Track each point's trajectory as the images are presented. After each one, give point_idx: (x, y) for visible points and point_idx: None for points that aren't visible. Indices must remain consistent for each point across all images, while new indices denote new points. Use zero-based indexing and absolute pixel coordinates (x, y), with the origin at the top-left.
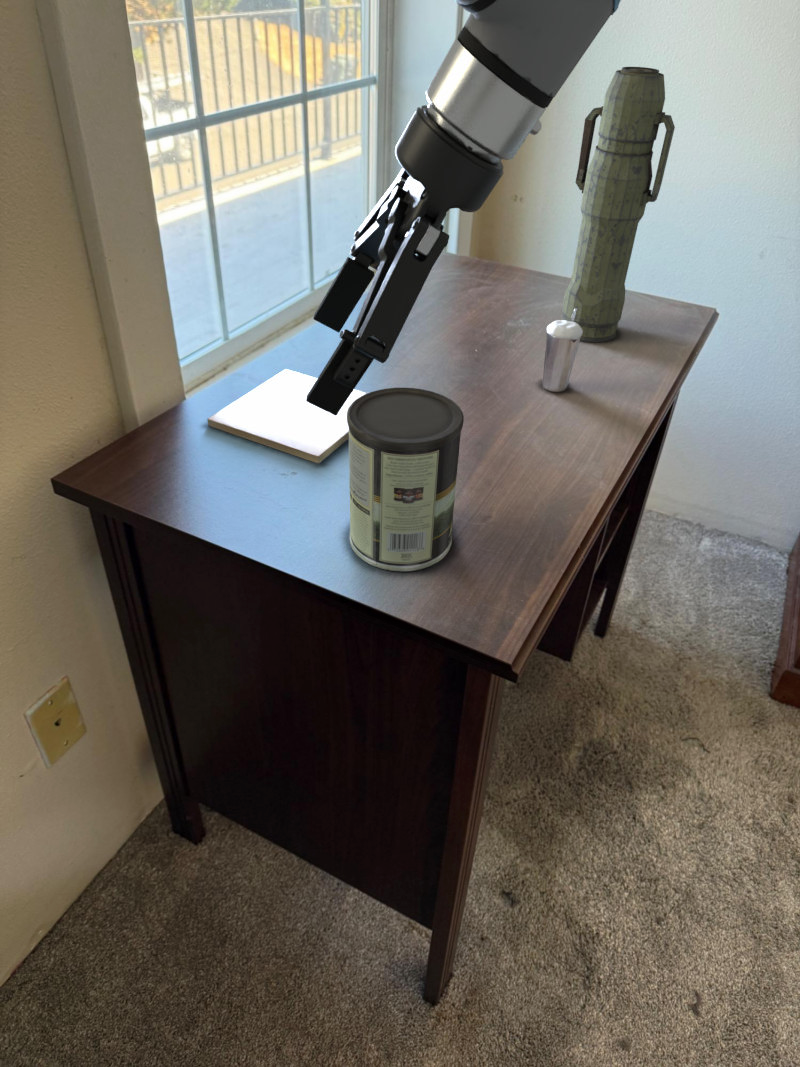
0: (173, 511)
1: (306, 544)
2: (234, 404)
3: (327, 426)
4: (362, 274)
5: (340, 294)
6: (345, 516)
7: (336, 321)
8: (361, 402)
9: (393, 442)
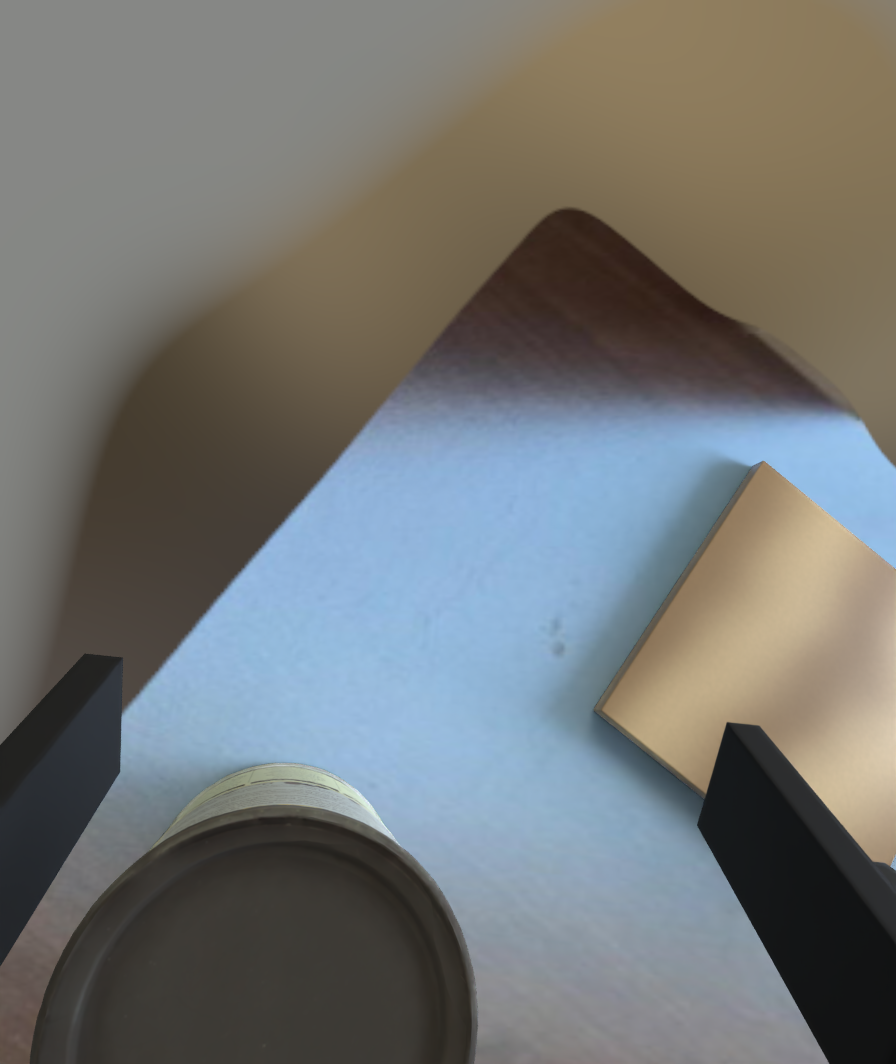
0: (440, 394)
1: (288, 662)
2: (824, 521)
3: None
4: (863, 1044)
5: (790, 871)
6: (380, 760)
7: (720, 823)
8: (375, 868)
9: (56, 972)
